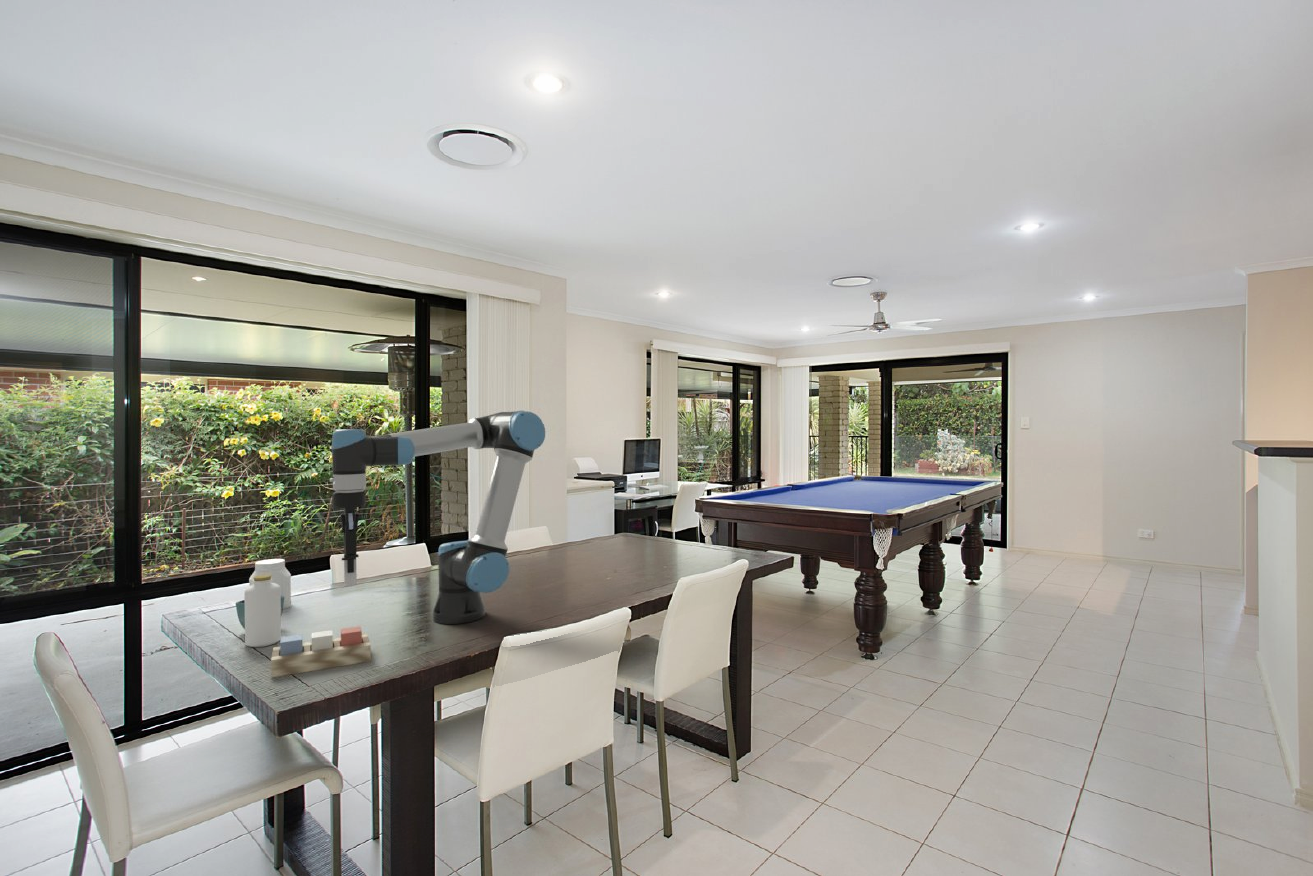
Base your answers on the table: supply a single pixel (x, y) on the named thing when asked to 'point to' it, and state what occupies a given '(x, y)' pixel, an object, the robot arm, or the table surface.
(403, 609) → the table surface
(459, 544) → the robot arm
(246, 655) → the table surface
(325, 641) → the white key
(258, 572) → the jar
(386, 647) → the table surface
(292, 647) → the blue short block
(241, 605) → the flower pot
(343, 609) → the table surface
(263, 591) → the potion bottle
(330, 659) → the wooden block holder
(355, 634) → the red key
